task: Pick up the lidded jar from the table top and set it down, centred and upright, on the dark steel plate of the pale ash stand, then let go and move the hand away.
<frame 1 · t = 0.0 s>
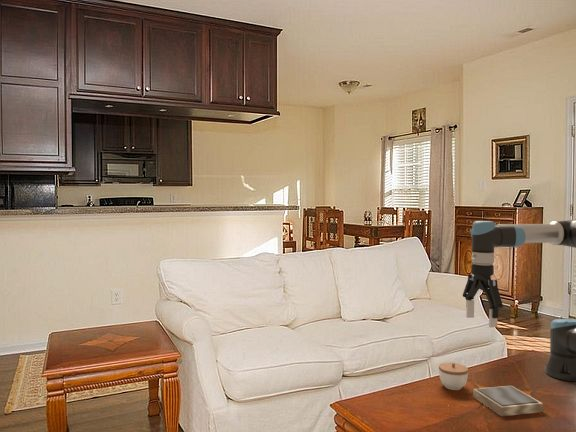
hand: (481, 322, 175), 28 cm above the table, tool pointing down, fingers open, 13 cm apart
lidded jar: (452, 387, 186), on the table
stand: (506, 404, 171), on the table
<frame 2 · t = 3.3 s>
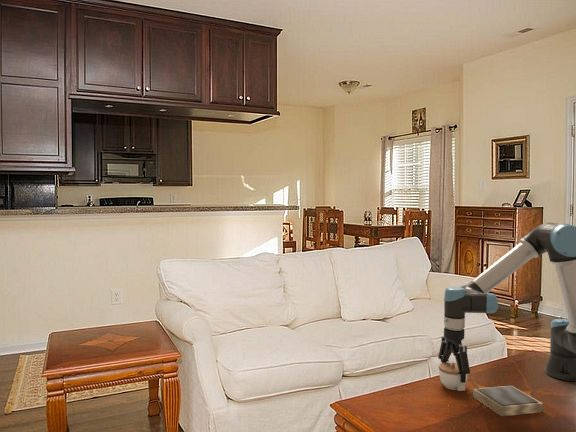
hand: (453, 384, 186), 1 cm above the table, tool pointing down, fingers closed on lidded jar, 11 cm apart
lidded jar: (452, 387, 186), on the table, touching gripper
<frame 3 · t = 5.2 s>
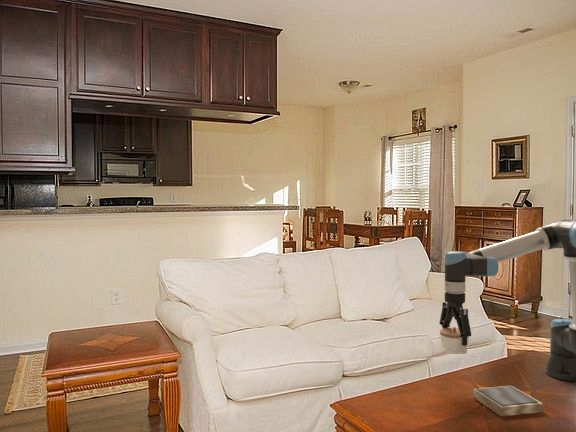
hand: (454, 348, 186), 15 cm above the table, tool pointing down, fingers closed on lidded jar, 11 cm apart
lidded jar: (454, 352, 186), point 14 cm above the table, touching gripper
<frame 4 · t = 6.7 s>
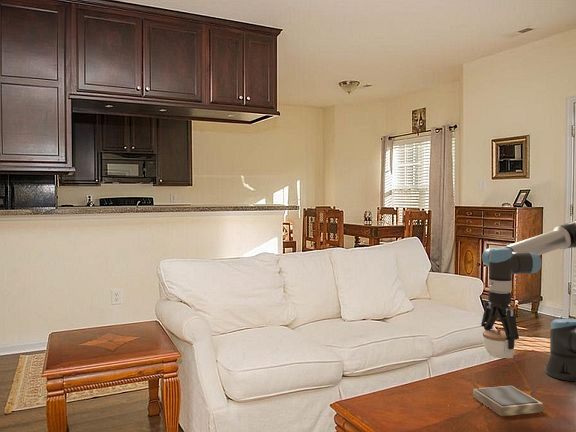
hand: (498, 352, 173), 18 cm above the table, tool pointing down, fingers closed on lidded jar, 11 cm apart
lidded jar: (498, 355, 173), point 17 cm above the table, touching gripper
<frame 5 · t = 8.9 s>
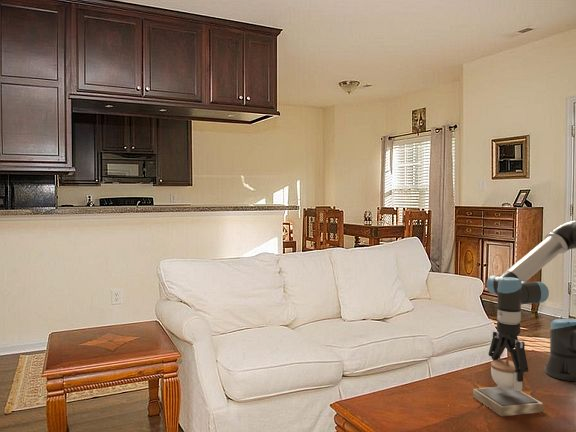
hand: (506, 383, 171), 7 cm above the table, tool pointing down, fingers closed on lidded jar, 11 cm apart
lidded jar: (506, 387, 171), point 6 cm above the table, touching gripper
when the fingers open (6 cm above the table, at t = 10.3 s): lidded jar drops 2 cm, resting on stand.
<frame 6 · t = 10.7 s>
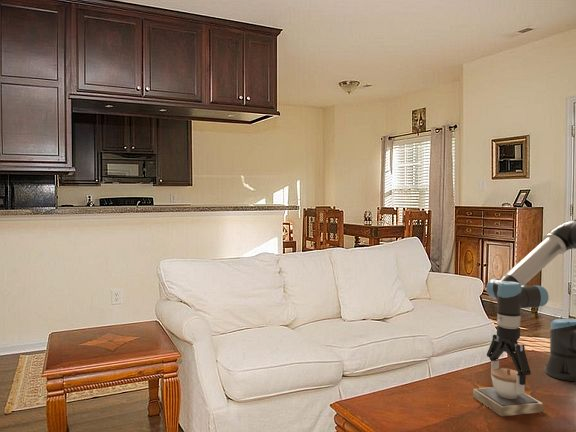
hand: (506, 385, 171), 7 cm above the table, tool pointing down, fingers open, 13 cm apart
lidded jar: (507, 395, 171), point 3 cm above the table, touching stand
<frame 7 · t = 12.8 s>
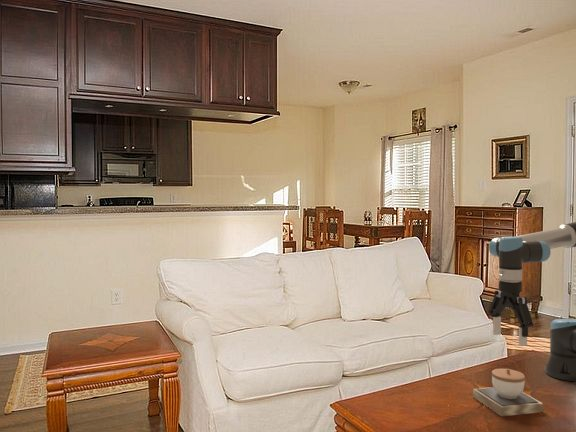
hand: (509, 339, 172), 23 cm above the table, tool pointing down, fingers open, 13 cm apart
nothing on the table moved.
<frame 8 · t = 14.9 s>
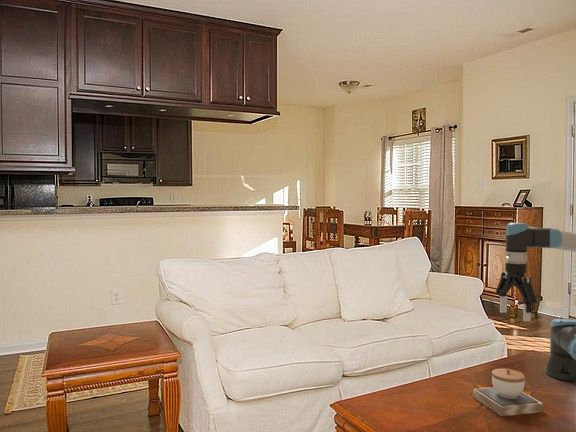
hand: (514, 316, 189), 27 cm above the table, tool pointing down, fingers open, 13 cm apart
nothing on the table moved.
at the end: lidded jar 0.4 cm off-centre on the stand, point 3.1 cm above the stand's base; lidded jar tilted 0°; the gripper is holding nothing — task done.
